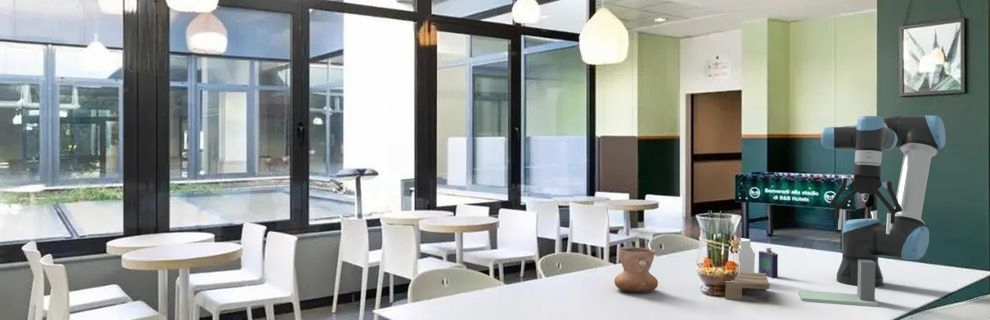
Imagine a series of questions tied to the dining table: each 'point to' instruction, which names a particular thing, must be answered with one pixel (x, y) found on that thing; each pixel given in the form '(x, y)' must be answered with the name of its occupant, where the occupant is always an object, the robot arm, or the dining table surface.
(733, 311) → the dining table surface
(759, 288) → the dock
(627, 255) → the ceramic jug
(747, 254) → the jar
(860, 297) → the green platform with post
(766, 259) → the flask
